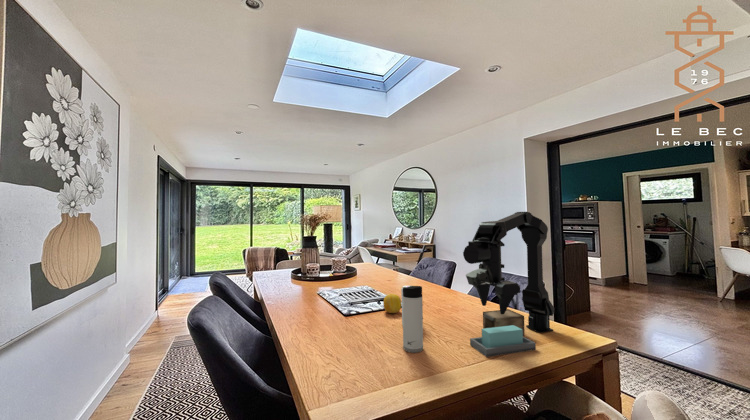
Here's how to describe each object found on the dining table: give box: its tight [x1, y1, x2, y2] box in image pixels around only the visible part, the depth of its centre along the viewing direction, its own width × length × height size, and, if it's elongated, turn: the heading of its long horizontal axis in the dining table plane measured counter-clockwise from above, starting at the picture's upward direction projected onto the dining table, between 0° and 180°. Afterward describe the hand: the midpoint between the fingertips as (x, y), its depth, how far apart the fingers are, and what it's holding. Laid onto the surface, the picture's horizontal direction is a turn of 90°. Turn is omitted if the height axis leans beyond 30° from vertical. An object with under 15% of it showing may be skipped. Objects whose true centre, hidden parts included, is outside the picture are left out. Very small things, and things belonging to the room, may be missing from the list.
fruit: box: [382, 293, 402, 314], centre depth 132 cm, size 9×8×8 cm
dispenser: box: [482, 308, 526, 337], centre depth 107 cm, size 12×8×7 cm
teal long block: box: [481, 325, 524, 348], centre depth 96 cm, size 12×4×5 cm, turn 104°
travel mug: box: [402, 285, 424, 354], centre depth 95 cm, size 6×7×20 cm
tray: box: [469, 336, 537, 358], centre depth 95 cm, size 18×9×2 cm, turn 105°
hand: (492, 309), depth 96 cm, fingers open, 9 cm apart
